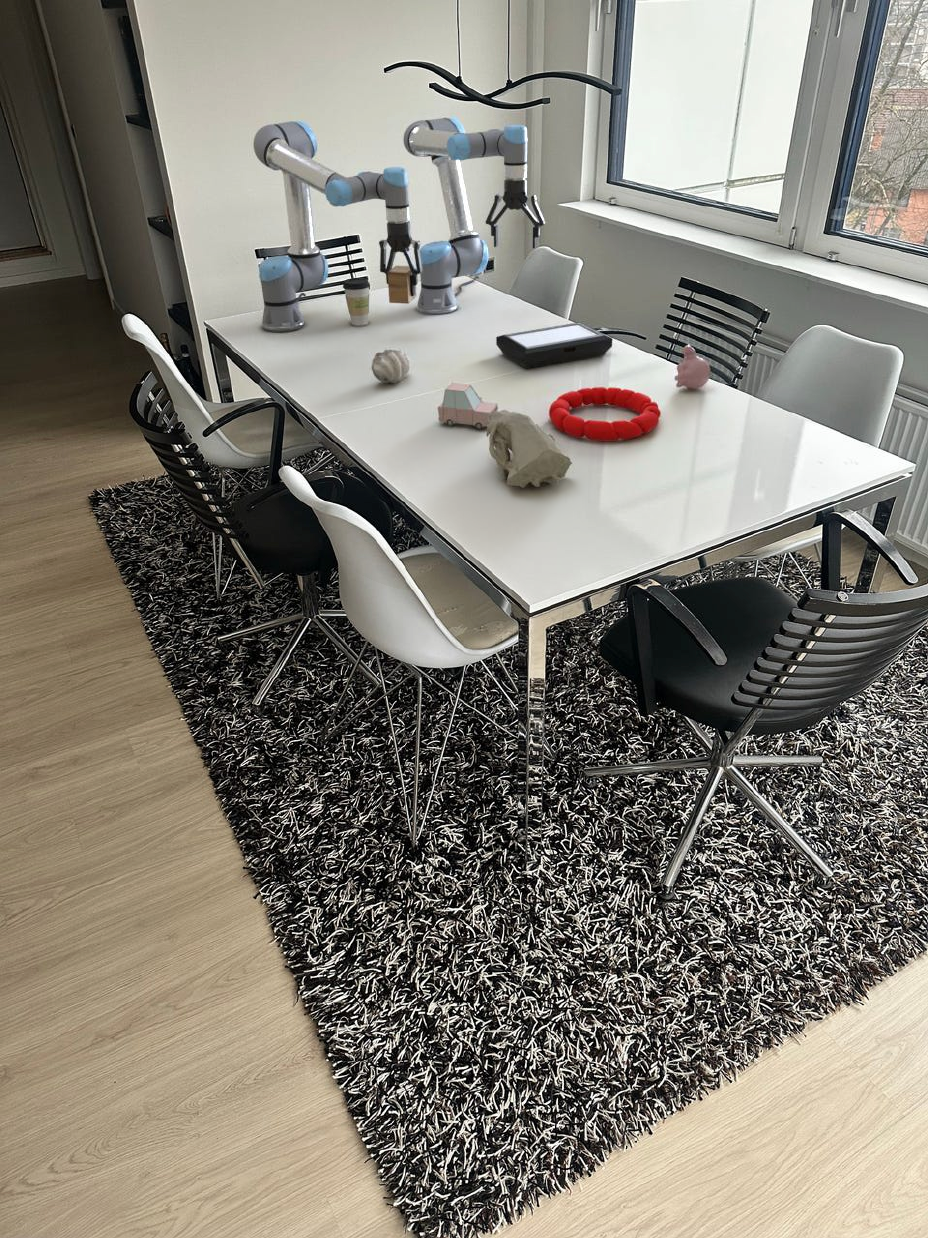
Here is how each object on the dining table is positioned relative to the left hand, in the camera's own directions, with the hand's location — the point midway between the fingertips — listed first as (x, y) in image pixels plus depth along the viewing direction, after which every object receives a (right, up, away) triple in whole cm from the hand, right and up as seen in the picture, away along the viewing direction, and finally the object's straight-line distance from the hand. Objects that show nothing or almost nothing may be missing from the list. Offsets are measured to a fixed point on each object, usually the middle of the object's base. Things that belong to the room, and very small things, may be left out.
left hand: (402, 294), depth 300 cm
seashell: (-1, -37, -26) cm, 45 cm away
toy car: (+22, -56, -54) cm, 81 cm away
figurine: (+87, -42, -38) cm, 104 cm away
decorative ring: (+59, -56, -56) cm, 99 cm away
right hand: (+38, +18, +6) cm, 43 cm away
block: (0, -1, +1) cm, 2 cm away
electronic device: (+50, -23, -8) cm, 56 cm away
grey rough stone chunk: (+35, -73, -80) cm, 114 cm away
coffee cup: (-18, -1, +27) cm, 32 cm away
